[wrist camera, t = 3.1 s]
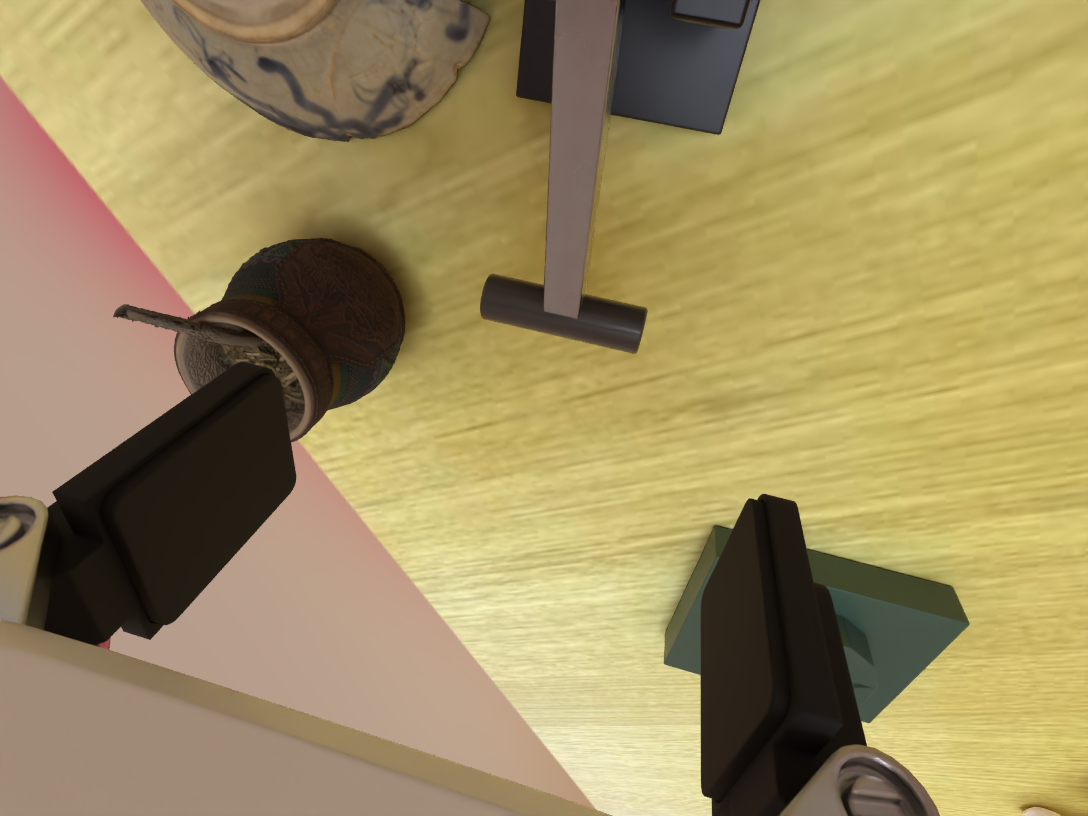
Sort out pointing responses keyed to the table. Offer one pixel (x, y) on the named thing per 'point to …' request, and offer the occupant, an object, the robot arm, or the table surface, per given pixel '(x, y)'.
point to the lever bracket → (655, 59)
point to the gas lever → (574, 190)
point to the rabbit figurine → (1038, 812)
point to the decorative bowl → (328, 57)
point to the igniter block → (847, 622)
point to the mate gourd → (296, 326)
